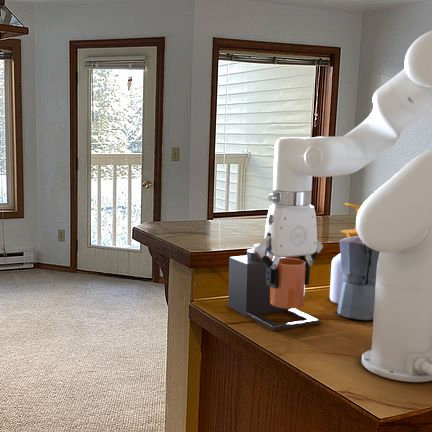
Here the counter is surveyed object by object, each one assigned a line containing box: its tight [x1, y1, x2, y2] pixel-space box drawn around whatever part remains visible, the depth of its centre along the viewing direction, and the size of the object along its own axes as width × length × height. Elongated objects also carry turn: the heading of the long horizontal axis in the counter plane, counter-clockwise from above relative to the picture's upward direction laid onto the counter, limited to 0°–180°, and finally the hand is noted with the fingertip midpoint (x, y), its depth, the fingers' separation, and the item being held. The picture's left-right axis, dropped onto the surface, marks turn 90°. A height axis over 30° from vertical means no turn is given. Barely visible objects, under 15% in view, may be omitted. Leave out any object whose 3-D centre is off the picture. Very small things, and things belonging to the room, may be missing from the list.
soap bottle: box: [329, 202, 361, 305], centre depth 136 cm, size 9×9×25 cm
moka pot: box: [336, 236, 380, 321], centre depth 125 cm, size 10×15×20 cm, turn 174°
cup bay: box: [245, 308, 320, 332], centre depth 124 cm, size 10×12×1 cm
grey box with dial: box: [227, 248, 285, 317], centre depth 131 cm, size 8×12×14 cm, turn 112°
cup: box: [270, 257, 306, 310], centre depth 114 cm, size 7×7×9 cm
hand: (287, 284), depth 114 cm, fingers closed on cup, 6 cm apart
